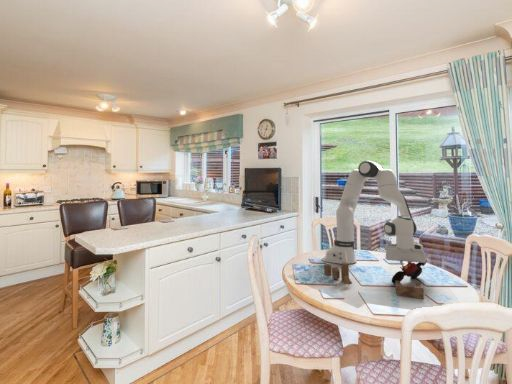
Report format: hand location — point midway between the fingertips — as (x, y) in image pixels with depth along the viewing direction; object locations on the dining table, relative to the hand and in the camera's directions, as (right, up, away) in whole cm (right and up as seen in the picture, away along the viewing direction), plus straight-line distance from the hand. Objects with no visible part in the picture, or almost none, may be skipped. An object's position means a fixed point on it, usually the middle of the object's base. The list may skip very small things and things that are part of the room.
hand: (405, 268), depth 155 cm
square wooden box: (-9, -7, -19) cm, 22 cm away
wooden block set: (-38, -7, -1) cm, 38 cm away
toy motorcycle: (-1, -7, -2) cm, 7 cm away
